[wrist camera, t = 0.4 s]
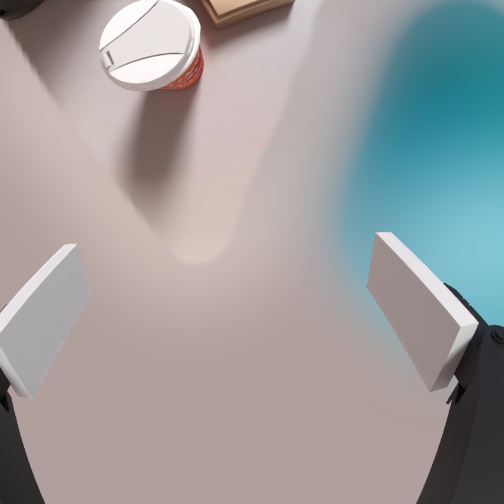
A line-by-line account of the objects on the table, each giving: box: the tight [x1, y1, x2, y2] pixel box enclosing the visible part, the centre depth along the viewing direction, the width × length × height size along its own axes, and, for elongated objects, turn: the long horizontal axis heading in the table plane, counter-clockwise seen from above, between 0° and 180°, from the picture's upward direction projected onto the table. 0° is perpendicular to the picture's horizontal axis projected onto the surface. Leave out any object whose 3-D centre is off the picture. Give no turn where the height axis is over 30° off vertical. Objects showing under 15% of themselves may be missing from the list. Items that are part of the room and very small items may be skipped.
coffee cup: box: [99, 0, 204, 91], centre depth 25 cm, size 8×8×15 cm
